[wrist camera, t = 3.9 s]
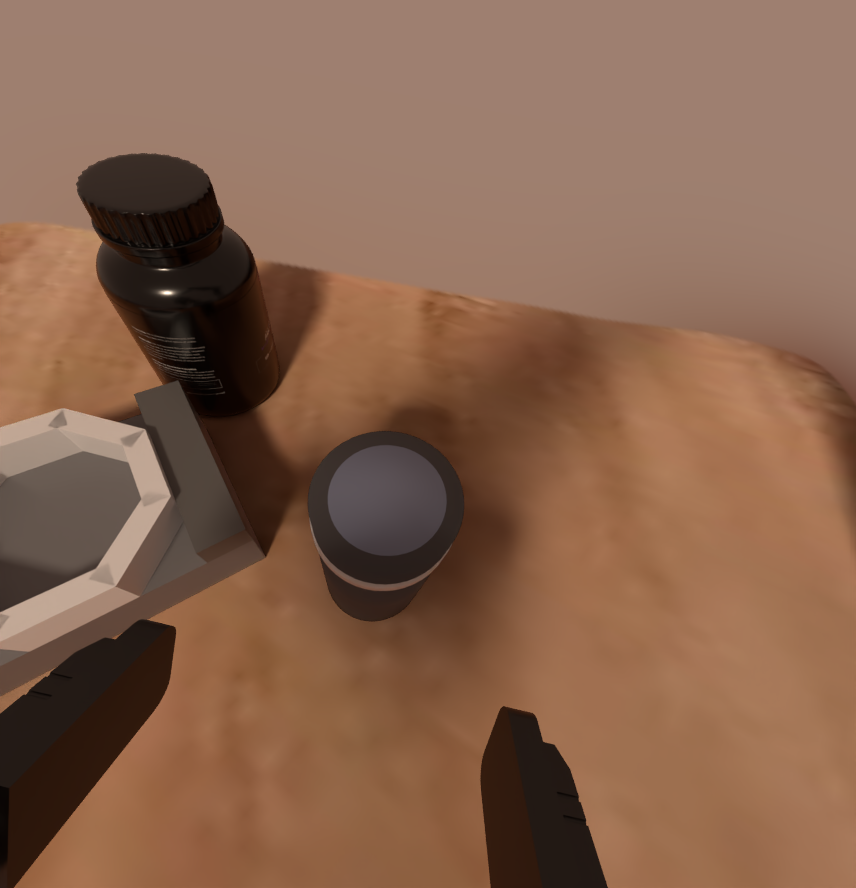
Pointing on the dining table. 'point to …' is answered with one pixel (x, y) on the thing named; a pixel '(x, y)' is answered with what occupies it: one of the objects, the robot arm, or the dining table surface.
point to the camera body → (108, 526)
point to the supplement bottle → (181, 280)
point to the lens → (382, 520)
